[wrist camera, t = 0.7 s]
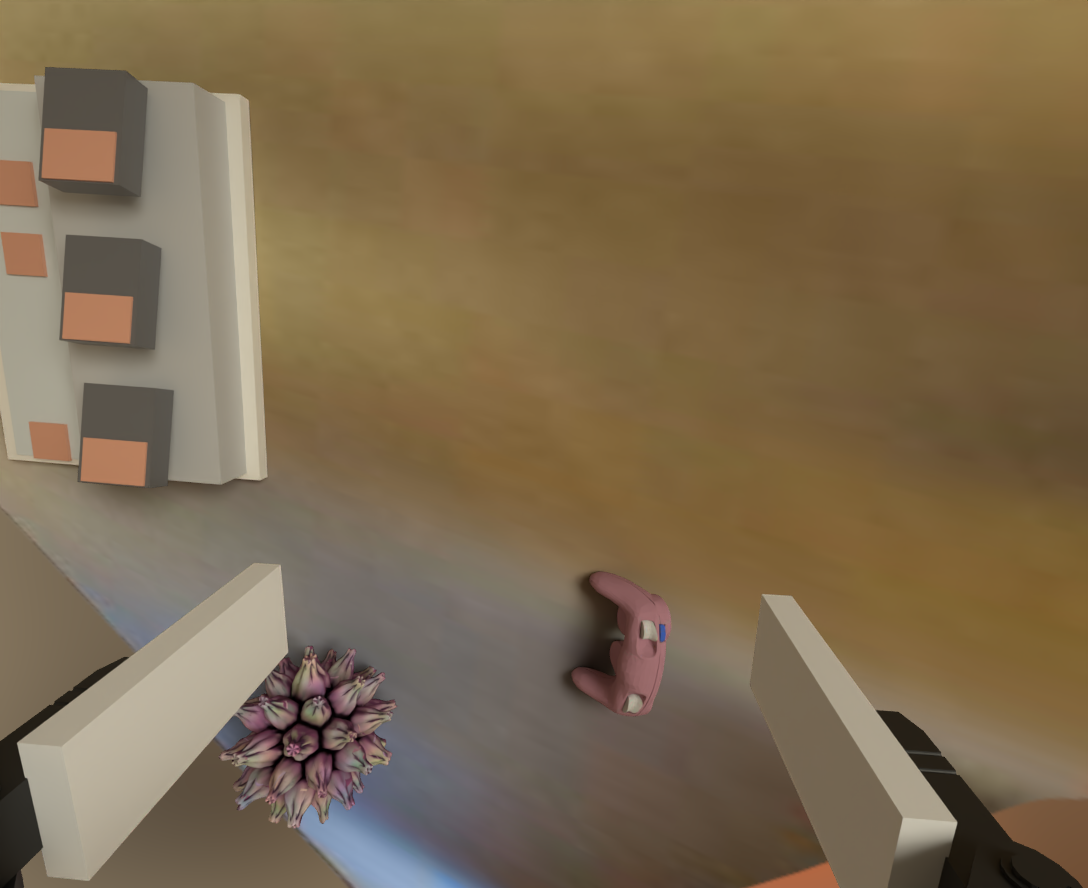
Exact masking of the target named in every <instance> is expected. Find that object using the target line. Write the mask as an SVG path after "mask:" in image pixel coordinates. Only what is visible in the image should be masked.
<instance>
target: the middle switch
mask: <svg viewBox="0 0 1088 888" xmlns="http://www.w3.org/2000/svg"><path fill="white" fill-rule="evenodd" d="M161 250H162V248H160V247H158V246H156V245H153V244H151V243H149V242H147V241H145V240H143V239H131V238H115V237H99V236H83V235H67V234H66V240H65V256H64V272H63V288H62V304H61V320H60V336H59V340H61V341H66V342H72V343H77V344H82V345H96V346H109V347H123V348H137V349H151V350H155V341H156V326H157V311H158V296H159V280H160V265H161Z"/></svg>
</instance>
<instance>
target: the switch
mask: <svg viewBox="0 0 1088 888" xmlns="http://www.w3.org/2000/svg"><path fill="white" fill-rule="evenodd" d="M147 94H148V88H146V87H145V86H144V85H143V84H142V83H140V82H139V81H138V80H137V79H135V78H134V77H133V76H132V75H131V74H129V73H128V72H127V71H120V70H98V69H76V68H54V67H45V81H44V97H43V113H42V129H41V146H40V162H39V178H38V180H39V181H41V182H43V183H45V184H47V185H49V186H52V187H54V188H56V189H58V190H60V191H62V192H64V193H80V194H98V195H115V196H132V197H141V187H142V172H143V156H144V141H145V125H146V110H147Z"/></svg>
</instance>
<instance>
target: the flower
mask: <svg viewBox="0 0 1088 888" xmlns="http://www.w3.org/2000/svg"><path fill="white" fill-rule="evenodd" d="M336 653H337V652H336V651H335V652H334V650H333V649H331V650H329V652H328V654H327V657H326V659H325V660H324V661H323V662H322V663H321V664H320V661H319V659H318V658H317V655H316V654H315V653H314V649H313V646H308V647H306V648H305V655H304V658H303V662H302V664H301V666H300V668H299V667H297V666H295V665H293V663H292V662H291V660H290V658H289V657H288V658H284V659H283V660H281V661H280V662H279V663H278V665H279V669H280V671H279V672H277V671H275V670H274V669H273V670H272V671H271V673H270V674H269V675H268V676H267V677H266V678H265V685H266V692H267V694H262V695H261V696H260V697H257V698H253V699H250V700H246V701H245V702H244V704H243V705H242V706H241V707H240V708H239V709H238V710H237V712H236V713H235V714H234V716H236V717H238V718H239V719H240V720H241V721H242V723H243V724H244V726H245V727H247V728H248V729H249V730H251V731H253V732H252V733H251V734H249V735H248V736H247V737H245V738H242V739H240V740H239V741H238V742H237V743H236V745H235V746H233V747H232V748H230V749H228V750H225V751H223V752H222V753H221V755H219V758H220V759H221V760H231V759H232V764H233V765H235V766H236V767H237V766H240V765H247V767H246V768H245V770H244V772H243V774H242V776H241V778H239V779H238V781H236V782H235V783H234V786H233V788H234V789H235V791H236V792H239V791H241V790H243V789H244V790H243V792H242V793H241V794H240V795H239V796H238V798H237V799H236V800H235V801H236V803H237V804H239V806H238V808H237V810H242V809H244V808H245V807H246V806H247V805H249V804H250V803H251V802H252V801H254V800H256V799H260V798H262V797H266V796H267V798H266V800H265V802H268V804H271V806H272V810H271V814H270V816H269V821H271V822H275V823H278V822H279V821H280V820H281V818H282V816H283V814H284V813H285V812H286V811H287V814H288V825H287V826H288V827H289V828H290V827H293V828H295V827H299V826H300V823H301V819H302V816H303V814H304V812H305V811H306V809H307V808H308V807H309V806H310V805H311V804H312V805H313V806H314V807H315V809H316V810H317V812H318V815H319V820H320V822H321V823H322V824H323V823H324V822H325V820H326V819H327V820H328V809H329V805H330V802H331V799H332V798H333V799H335V800H337V801H339V802H341V803H342V804H343V806H344V807H345V809H346V810H349V809H350V808H352V805H355V802H354V799H353V796H352V795H353V789H354V790H355V791H356V792H357V793H362V792H363V788H364V785H363V783H362V782H361V778H360V772H361V773H363V774H365V775H368V774H369V773H370V772H371V770H372V768H373V765H376V764H383V765H388V764H389V761H390V759H391V758H390V757H391V756H392V753H391V752H389V751H387V750H386V749H385V748H384V746H385V745H386V740H385V739H382V738H380V737H378V736H377V735H376V734H375V733H374V730H375V729H376V728H377V727H378V726H380V725H381V724H382V723H384V722H387V721H390V720H391V717H392V716H393V712H390V710H392V709H395V708H396V707H397V706H396V705H395V704H396V703H395V701H394V700H389V701H383V700H379V699H372V697H373V696H374V694H375V692H376V690H377V688H378V686H379V684H380V683H381V682H382V681H383V680H385V677H384V676H385V673H380V674H378V675H377V676H375V677H372V676H373V675H374V674H375V672H376V670H374V668H373V667H371V666H369V667H368V668H367V669H366V670H364V671H361V672H357V673H354V674H353V672H354V656H355V654H356V650H355V649H352V650H351V649H350V648H349V649H348V650H347V652H346V654H345V655H344V656H343V657H342V658H340V659H339V660H338V661H336Z"/></svg>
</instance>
